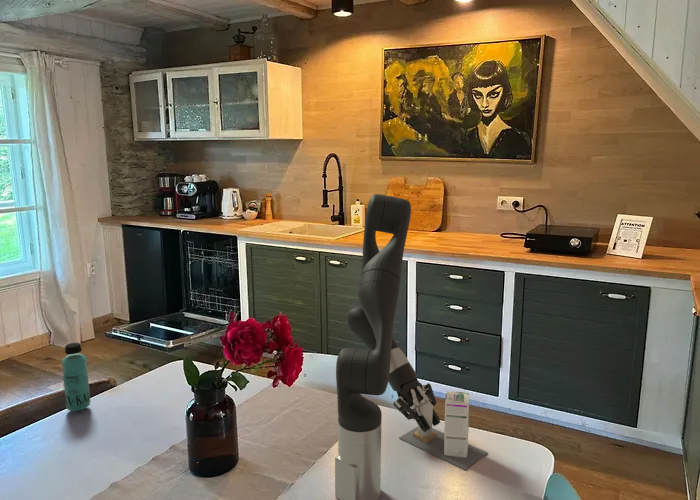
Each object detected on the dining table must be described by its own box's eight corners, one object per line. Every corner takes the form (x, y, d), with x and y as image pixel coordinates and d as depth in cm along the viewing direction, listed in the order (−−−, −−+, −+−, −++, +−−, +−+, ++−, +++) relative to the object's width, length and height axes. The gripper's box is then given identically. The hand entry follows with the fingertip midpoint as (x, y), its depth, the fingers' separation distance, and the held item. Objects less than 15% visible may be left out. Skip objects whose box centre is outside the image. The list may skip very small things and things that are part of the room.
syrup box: (467, 458, 132) (470, 403, 129) (442, 455, 133) (445, 400, 131) (467, 445, 138) (470, 392, 135) (443, 443, 139) (445, 390, 136)
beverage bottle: (66, 407, 158) (59, 342, 154) (92, 403, 161) (85, 338, 157) (65, 418, 152) (58, 350, 148) (92, 413, 155) (85, 346, 151)
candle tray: (465, 470, 128) (466, 435, 126) (399, 438, 142) (399, 406, 140) (487, 453, 135) (489, 420, 133) (422, 424, 149) (423, 393, 147)
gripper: (387, 370, 139) (424, 432, 133) (421, 355, 148) (457, 411, 142) (371, 383, 143) (406, 443, 137) (405, 367, 153) (440, 423, 147)
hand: (432, 427), depth 140 cm, fingers closed on candle tray, 3 cm apart
